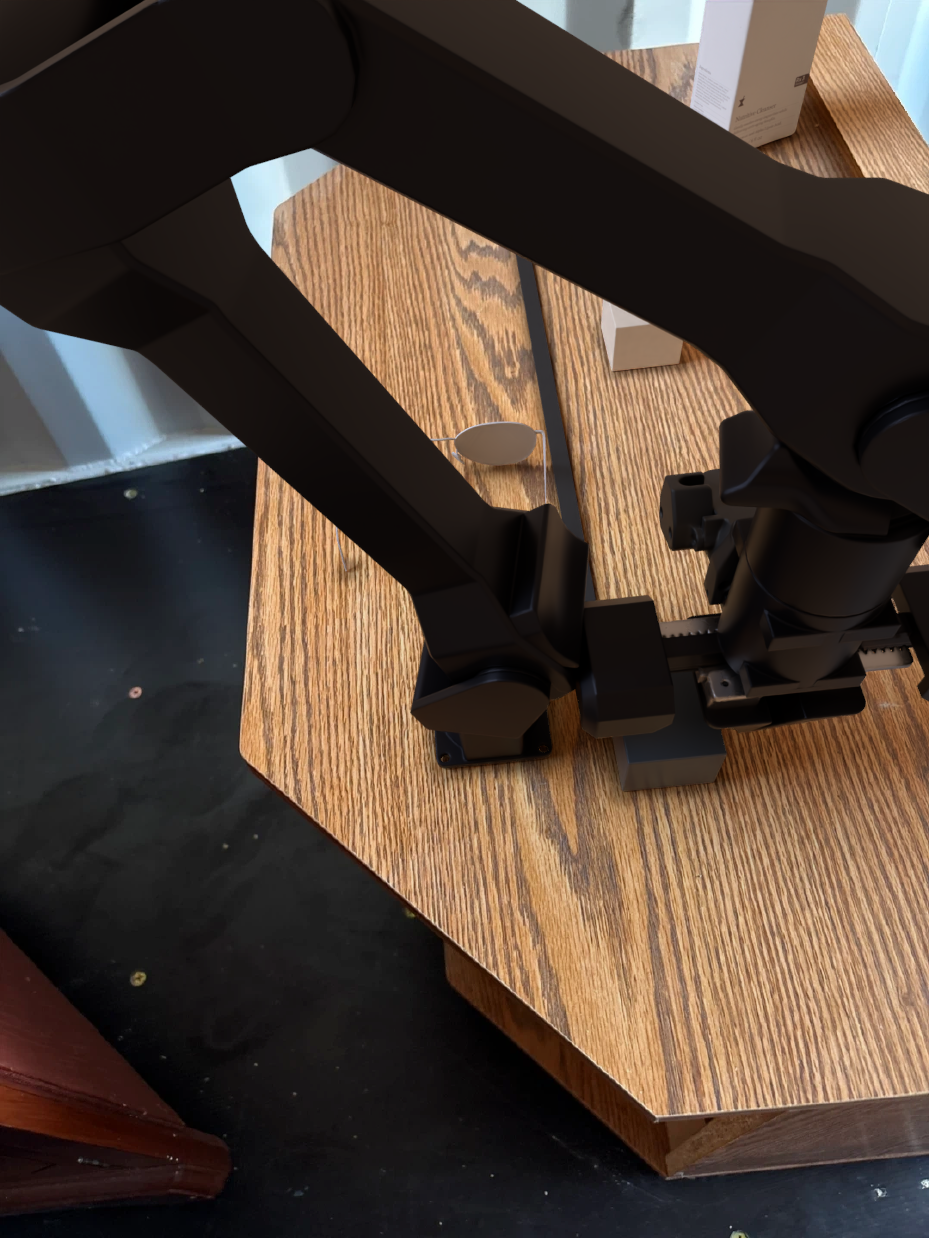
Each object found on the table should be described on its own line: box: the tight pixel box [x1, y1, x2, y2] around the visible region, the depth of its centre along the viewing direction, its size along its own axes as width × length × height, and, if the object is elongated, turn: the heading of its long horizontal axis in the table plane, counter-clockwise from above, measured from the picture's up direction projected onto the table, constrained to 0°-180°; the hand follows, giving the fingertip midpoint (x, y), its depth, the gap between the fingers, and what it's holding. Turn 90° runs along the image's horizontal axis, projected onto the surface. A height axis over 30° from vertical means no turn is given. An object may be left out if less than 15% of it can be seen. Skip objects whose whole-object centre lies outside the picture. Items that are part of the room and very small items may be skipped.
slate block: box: [611, 671, 728, 792], centre depth 46 cm, size 5×5×4 cm
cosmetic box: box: [689, 0, 829, 149], centre depth 71 cm, size 8×6×15 cm
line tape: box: [515, 254, 597, 602], centre depth 65 cm, size 50×1×1 cm, turn 4°
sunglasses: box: [335, 420, 547, 572], centre depth 55 cm, size 14×8×5 cm, turn 90°
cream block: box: [600, 299, 684, 372], centre depth 62 cm, size 5×5×4 cm
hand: (742, 723), depth 46 cm, fingers closed
